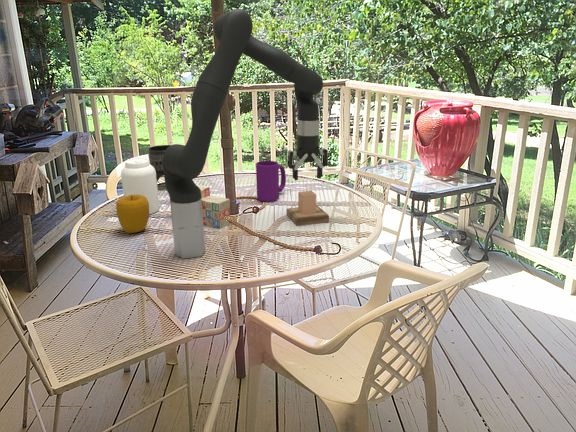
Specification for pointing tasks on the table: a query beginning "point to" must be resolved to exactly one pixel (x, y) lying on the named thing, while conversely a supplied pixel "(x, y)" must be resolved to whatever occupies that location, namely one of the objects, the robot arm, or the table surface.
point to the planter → (157, 159)
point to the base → (307, 216)
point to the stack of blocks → (214, 209)
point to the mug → (269, 180)
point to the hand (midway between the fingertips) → (307, 179)
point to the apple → (133, 213)
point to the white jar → (141, 181)
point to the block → (307, 202)
